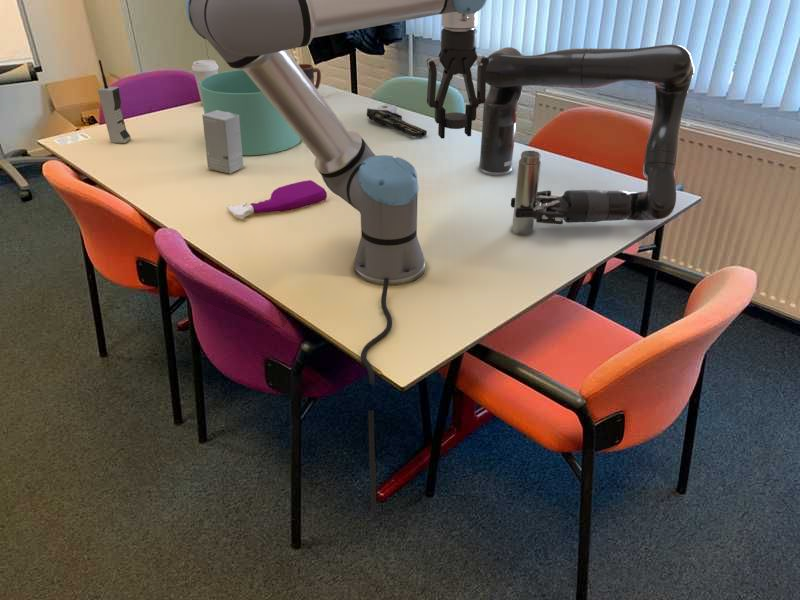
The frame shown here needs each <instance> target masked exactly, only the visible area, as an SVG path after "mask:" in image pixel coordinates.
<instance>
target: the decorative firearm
mask: <svg viewBox="0 0 800 600" xmlns="http://www.w3.org/2000/svg"><path fill="white" fill-rule="evenodd" d="M397 110H398V107H397V105H393V104H388V103H385V104H382V105H379V106H378V107H376V108H369V107H367V108H366V117H367V118H368V119H369V120H370V121H373V122H374V123H377V124H379V125H382V126H383V127H384V126H389V127H391V128H393V129H395V130H397V131H399V132H401V133H404V134H406V135H408V136H411V137H415V138H416V137H419V138H424V137H426V136H427V132H428V130H426V129H423V128H421V127H420V126H416V125H413V124H411V123H409V122H406V121H405V120H403V115H401V114H399V113H397Z"/></svg>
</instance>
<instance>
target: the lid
mask: <svg viewBox="0 0 800 600" xmlns="http://www.w3.org/2000/svg"><path fill="white" fill-rule="evenodd" d="M467 125H468V116H467V115H466V114H465V113H463V112H456V111H455V112H454V111H453V112H447V113H446V112H445V129H449V130H451V129H452V130H461V129H465V127H467Z"/></svg>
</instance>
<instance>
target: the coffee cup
mask: <svg viewBox="0 0 800 600" xmlns="http://www.w3.org/2000/svg"><path fill="white" fill-rule="evenodd" d="M218 69H219V64H217V61H216V60H214V59H200V60H195V61H193V62H192V65H191V71H193V75H194V79H195V82H196V86H197V91H198V94H199V98H200V103H201V105H202V106H203V102H202V96H201V90H200V82H201V81H202V80H203V79H204V78H206V77H208V76H211V75H214V74H217V73H219V70H218Z"/></svg>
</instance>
